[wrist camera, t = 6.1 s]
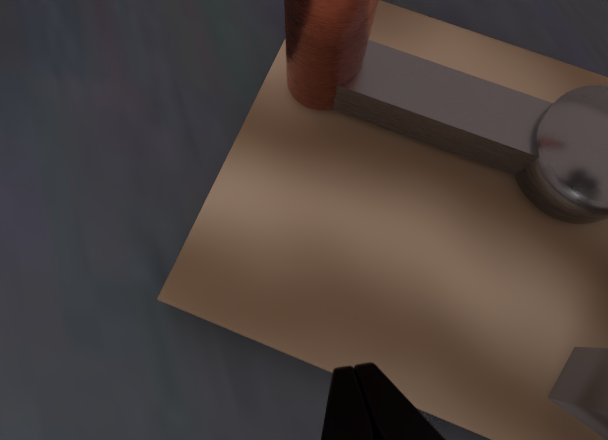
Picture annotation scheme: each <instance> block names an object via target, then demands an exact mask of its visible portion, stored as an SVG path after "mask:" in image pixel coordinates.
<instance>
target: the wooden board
mask: <svg viewBox="0 0 608 440" xmlns="http://www.w3.org/2000/svg"><path fill="white" fill-rule="evenodd" d="M369 40H371V41H374V42H377V43H380V44H383V45H386V46H388V47H391V48H394V49H397V50H400V51H403V52H406V53H409V54H412V55H415V56H417V57H420V58H423V59H426V60H429V61H432V62H435V63H438V64H441V65H444V66H446V67H449V68H452V69H455V70H458V71H461V72H464V73H467V74H470V75H473V76H476V77H478V78H481V79H484V80H487V81H490V82H493V83H496V84H499V85H502V86H505V87H507V88H510V89H513V90H516V91H519V92H522V93H525V94H528V95H531V96H534V97H536V98H539V99H542V100H545V101H548V102H551V103H554V102H555V101H556V100H557V99H558V98H560V97H561V96H562V95H564V94H565V93H567V92H569V91H571V90H573V89H576V88H579V87H583V86H589V85H604V86H608V77H605V76H603V75H600V74H597V73H594V72H591V71H588V70H585V69H582V68H579V67H576V66H573V65H570V64H567V63H564V62H561V61H558V60H555V59H552V58H549V57H546V56H543V55H540V54H537V53H535V52H532V51H529V50H526V49H523V48H520V47H517V46H514V45H511V44H508V43H505V42H502V41H499V40H496V39H493V38H490V37H487V36H484V35H481V34H478V33H475V32H472V31H469V30H466V29H464V28H461V27H458V26H455V25H452V24H449V23H446V22H443V21H440V20H437V19H434V18H431V17H428V16H425V15H422V14H419V13H416V12H413V11H410V10H407V9H404V8H401V7H398V6H396V5H393V4H390V3H387V2H384V1H381V0H379V1H378V5H377V9H376V13H375V17H374V21H373V25H372V29H371V33H370V37H369ZM157 300H159V301H162V302H164V303H167V304H169V305H171V306H174V307H176V308H179V309H181V310H183V311H186V312H188V313H191V314H193V315H195V316H198V317H200V318H202V319H205V320H207V321H210V322H212V323H214V324H217V325H219V326H222V327H224V328H226V329H229V330H231V331H233V332H236V333H238V334H241V335H243V336H245V337H248V338H250V339H253V340H255V341H257V342H260V343H262V344H265V345H267V346H269V347H272V348H274V349H276V350H279V351H281V352H284V353H286V354H288V355H291V356H293V357H296V358H298V359H300V360H303V361H305V362H308V363H310V364H312V365H315V366H317V367H319V368H322V369H324V370H327V371H329V372H331V373H333V370H334V368H336V367H342V366H349V365H350V366H353V368H354V366H355V365H356V364H361V363H368V362H372V363H374V364H376V365H377V366H378V367H379V369H380V370H381V371H382V372H383V373H384V374H385V375H386V376H387V377H388V378H389V379H390V380H391V381H392V382H393V384H394V385H395V386H396V387H397V388H398V389H399V390H400V391H401V392H402V393H403V394H404V395H405V396H406V398H407V399H408V400H409V401H410V402H411V403H412V404H413V405H414V406H415V407H416V408H417V409H420V410H422V411H425V412H427V413H429V414H432V415H434V416H436V417H439V418H441V419H444V420H446V421H448V422H451V423H453V424H456V425H458V426H460V427H463V428H465V429H467V430H470V431H472V432H475V433H477V434H479V435H482V436H484V437H487V438H489V439H491V440H608V218H607V219H604V220H601V221H598V222H595V223H590V224H573V223H568V222H564V221H561V220H558V219H555V218H553V217H551V216H549V215H547V214H546V213H544V212H542V211H541V210H540V209H538V208H537V207H536V206H535V205H534V204H533V203H531V202H530V200H529V199H528V198H527V197H526V196H525V194H524V193H523V192H522V190H521V189H520V187H519V185H518V183H517V181H516V178H515V175H513V174H510V173H507V172H504V171H502V170H499V169H496V168H493V167H491V166H488V165H485V164H482V163H480V162H477V161H474V160H471V159H469V158H466V157H463V156H460V155H457V154H455V153H452V152H449V151H446V150H444V149H441V148H438V147H435V146H433V145H430V144H427V143H424V142H421V141H419V140H416V139H413V138H410V137H408V136H405V135H402V134H399V133H397V132H394V131H391V130H388V129H386V128H383V127H380V126H377V125H374V124H372V123H369V122H366V121H363V120H361V119H358V118H355V117H352V116H350V115H347V114H344V113H341V112H338V111H336V110H326V111H320V110H313V109H310V108H307V107H305V106H303V105H302V104H300V103H299V102H298V101H296V100H295V99H294V97H293V96H292V95H291V93H290V91H289V89H288V86H287V75H286V40H284V42H283V44H282V46H281V48H280V50H279V52H278V54H277V56H276V58H275V60H274V63H273V65H272V67H271V69H270V71H269V73H268V75H267V77H266V79H265V81H264V83H263V85H262V87H261V89H260V91H259V93H258V95H257V97H256V99H255V101H254V103H253V105H252V107H251V109H250V111H249V113H248V115H247V117H246V119H245V122H244V124H243V126H242V128H241V130H240V132H239V134H238V136H237V138H236V140H235V142H234V144H233V146H232V148H231V150H230V152H229V154H228V156H227V158H226V160H225V162H224V164H223V166H222V168H221V170H220V172H219V174H218V176H217V178H216V181H215V183H214V185H213V187H212V189H211V191H210V193H209V195H208V197H207V199H206V201H205V203H204V205H203V207H202V209H201V211H200V213H199V215H198V217H197V219H196V221H195V223H194V225H193V227H192V229H191V231H190V233H189V235H188V237H187V240H186V242H185V244H184V246H183V248H182V250H181V252H180V254H179V256H178V258H177V260H176V262H175V264H174V266H173V268H172V270H171V272H170V274H169V276H168V278H167V280H166V282H165V284H164V286H163V288H162V290H161V292H160V294H159V297H158V299H157Z"/></svg>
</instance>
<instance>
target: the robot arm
mask: <svg viewBox="0 0 608 440" xmlns="http://www.w3.org/2000/svg"><path fill="white" fill-rule="evenodd" d="M321 440H446V439H445V438H444V437H443V436H442V435H441V434H440V433H439V432H438V431H437V430H436V429H435V428H434V427H433V426H432V424H431V423H430V422H429V421H428V420H427V419H426V418H425V417H424V416H423V415H422V414H421V413H420V412H419V410H418V409H417V408H416V407H415V406H414V405H413V404H412V403H411V402H410V401H409V400H408V399H407V398H406V396H405V395H404V394H403V393H402V392H401V391H400V390H399V389H398V388H397V387H396V386H395V385H394V384H393V382H392V381H391V380H390V379H389V378H388V377H387V376H386V375H385V374H384V373H383V372H382V371H381V370H380V369H379V367H378V366H377V365H376V364H374V363H372V362H368V363H361V364H356V365H355V366H354V368H353V366H350V365H349V366H342V367H336V368H334V370H333V373H332V378H331V384H330V390H329V396H328V402H327V408H326V413H325V419H324V425H323V431H322V437H321Z"/></svg>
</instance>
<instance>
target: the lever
mask: <svg viewBox="0 0 608 440" xmlns="http://www.w3.org/2000/svg"><path fill="white" fill-rule="evenodd" d="M378 1H379V0H284V6H285V40H286V75H287V86H288V89H289V91H290V93H291V95H292V96H293V97H294V99H295V100H296V101H298V102H299V103H300V104H302V105H303V106H305V107H307V108H310V109H313V110H320V111H326V110H336V111H338V112H341V113H344V114H347V115H350V116H352V117H355V118H358V119H361V120H363V121H366V122H369V123H372V124H374V125H377V126H380V127H383V128H386V129H388V130H391V131H394V132H397V133H399V134H402V135H405V136H408V137H410V138H413V139H416V140H419V141H421V142H424V143H427V144H430V145H433V146H435V147H438V148H441V149H444V150H446V151H449V152H452V153H455V154H457V155H460V156H463V157H466V158H469V159H471V160H474V161H477V162H480V163H482V164H485V165H488V166H491V167H493V168H496V169H499V170H502V171H504V172H507V173H510V174H513V175H515V178H516V181H517V183H518V185H519V187H520V189H521V190H522V192H523V193H524V194H525V196H526V197H527V198H528V199H529V200H530V202H531V203H533V204H534V205H535V206H536V207H537V208H538V209H540V210H541V211H542V212H544V213H546V214H547V215H549V216H551V217H553V218H555V219H558V220H561V221H564V222H568V223H573V224H590V223H595V222H598V221H601V220H604V219H607V218H608V86H604V85H589V86H583V87H579V88H576V89H573V90H571V91H569V92H567V93H565V94H564V95H562V96H561V97H560V98H558V99H557V100H556V101H555V102H554V103H551V102H548V101H545V100H542V99H539V98H536V97H534V96H531V95H528V94H525V93H522V92H519V91H516V90H513V89H510V88H507V87H505V86H502V85H499V84H496V83H493V82H490V81H487V80H484V79H481V78H478V77H476V76H473V75H470V74H467V73H464V72H461V71H458V70H455V69H452V68H449V67H446V66H444V65H441V64H438V63H435V62H432V61H429V60H426V59H423V58H420V57H417V56H415V55H412V54H409V53H406V52H403V51H400V50H397V49H394V48H391V47H388V46H386V45H383V44H380V43H377V42H374V41H371V40H369V37H370V33H371V29H372V25H373V21H374V17H375V13H376V9H377V5H378Z"/></svg>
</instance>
